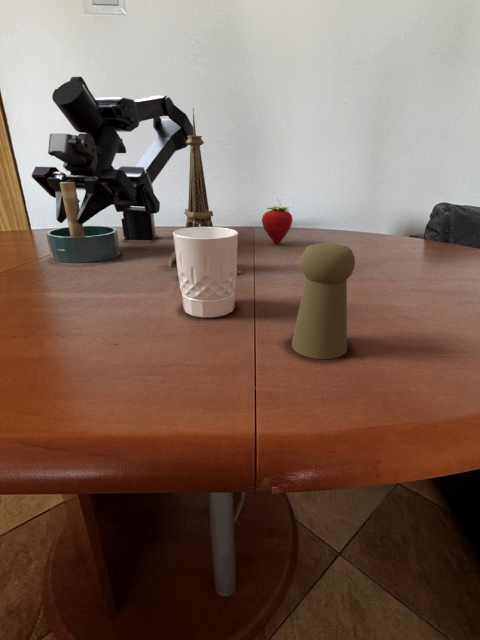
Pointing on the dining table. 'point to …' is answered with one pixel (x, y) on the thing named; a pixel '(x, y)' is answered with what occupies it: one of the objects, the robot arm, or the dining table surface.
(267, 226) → the strawberry
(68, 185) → the stick
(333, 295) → the cork
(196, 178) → the eiffel tower
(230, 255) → the white cup
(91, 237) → the bowl
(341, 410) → the dining table surface
